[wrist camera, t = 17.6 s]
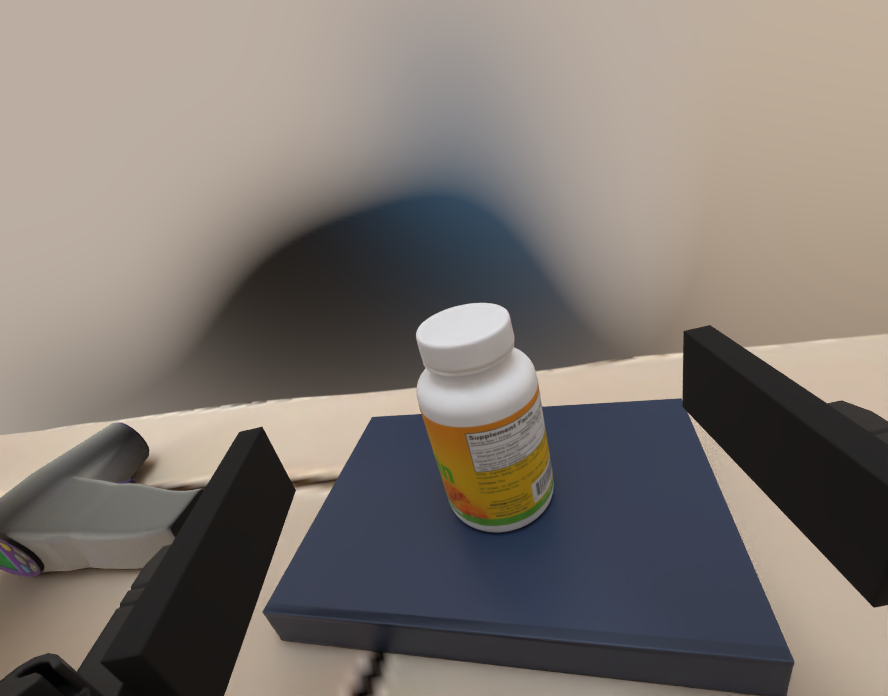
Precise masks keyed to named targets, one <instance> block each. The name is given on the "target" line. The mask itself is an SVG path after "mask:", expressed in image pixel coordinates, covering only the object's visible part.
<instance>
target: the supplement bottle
mask: <svg viewBox="0 0 888 696" xmlns="http://www.w3.org/2000/svg"><path fill="white" fill-rule="evenodd" d="M416 339H417V343H418V347H419V350H420V353H421V357H422V360H423V364H424V366H425V367H426V369H425V370H424V372H423V373H422V375H421V376H420V379H419V381H418V385H417V399H418V403H419V407H420V411H421V414H422V417H423V420H424V423H425V426H426V430H427V433H428V436H429V439H430V442H431V446H432V449H433V453H434V456H435V458H436V461H437V465H438V468H439V471H440V474H441V477H442V481H443V484H444V487H445V490H446V493H447V496H448V499H449V502H450V505H451V507H452V509H453V511H454V512H455V514H456V515H457V516H458V517H459V518H460V519H461V520H462V521H463V522H464V523H466V524H467V525H469V526H471V527H473V528H475V529H478V530H482V531H487V532H507V531H511V530H515V529H518V528H521V527H523V526H525V525H527V524H529V523H531V522H532V521H534V520H535V519H537V518H538V517H539V516H540V515H541V514H542V513H543V512H544V510H545V509H546V508H547V506H548V505H549V503H550V501H551V498H552V494H553V488H554V483H553V473H552V466H551V460H550V454H549V447H548V442H547V436H546V429H545V423H544V417H543V411H542V405H541V399H540V392H539V385H538V379H537V376H536V371H535V369H534V366H533V364H532V362H531V360H530V359H529V358H528V357H527V356H526V355H525V354H524V353H523V352H521V351H520V350H518V349H516V348H514V333H513V330H512V325H511V320H510V316H509V313H508V312H507V310H506V309H505V308H503V307H501V306H499V305H496V304H490V303H473V304H466V305H461V306H456V307H453V308H450V309H446V310H444V311H441V312H439V313H437V314H435V315H433V316H431V317H430V318H428V319H427V320H426V321H424V322H423V323H422V324H421V325H420V327H419V328H418V330H417V333H416Z"/></svg>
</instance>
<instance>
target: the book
mask: <svg viewBox="0 0 888 696" xmlns="http://www.w3.org/2000/svg"><path fill="white" fill-rule="evenodd" d="M682 406H683V401H682V399H664V400H648V401H631V402H615V403H598V404H581V405H565V406H548V407H542V411H543V417H544V423H545V429H546V436H547V442H548V447H549V454H550V460H551V466H552V473H553V483H554V488H553V494H552V498H551V501H550V503H549V505H548V506H547V508H546V509H545V510H544V512H543V513H542V514H541V515H540V516H539V517H538V518H537V519H535V520H534V521H532V522H531V523H529V524H527V525H525V526H523V527H521V528H518V529H515V530H511V531H507V532H487V531H482V530H478V529H475V528H473V527H471V526H469V525H467V524H466V523H464V522H463V521H462V520H461V519H460V518H459V517H458V516H457V515H456V514H455V512H454V511H453V509H452V507H451V505H450V502H449V499H448V496H447V493H446V490H445V487H444V484H443V481H442V477H441V474H440V471H439V468H438V465H437V461H436V458H435V456H434V453H433V449H432V446H431V442H430V439H429V436H428V433H427V430H426V426H425V423H424V420H423V417H422V414H415V415H399V416H382V417H372V418H371V420H370V422H369V424H368V425H367V427H366V429H365V431H364V433H363V434H362V436H361V438H360V440H359V441H358V443H357V445H356V447H355V449H354V450H353V452H352V454H351V456H350V457H349V459H348V461H347V463H346V465H345V466H344V468H343V470H342V472H341V473H340V475H339V477H338V479H337V481H336V482H335V484H334V486H333V488H332V489H331V491H330V493H329V495H328V497H327V498H326V500H325V502H324V504H323V505H322V507H321V509H320V511H319V513H318V514H317V516H316V518H315V520H314V521H313V523H312V525H311V527H310V529H309V530H308V532H307V534H306V536H305V537H304V539H303V541H302V543H301V545H300V546H299V548H298V550H297V552H296V553H295V555H294V557H293V559H292V561H291V562H290V564H289V566H288V568H287V569H286V571H285V573H284V575H283V577H282V578H281V580H280V582H279V584H278V585H277V587H276V589H275V591H274V593H273V594H272V596H271V598H270V600H269V601H268V603H267V605H266V607H265V609H264V610H263V614H264V615H265V616H266V618H267V619H268V621H269V622H270V624H271V625H272V626H273V628H274V629H275V631H276V632H277V634H278V635H279V637H280V638H281V640H285V641H294V642H302V643H311V644H320V645H328V646H337V647H346V648H355V649H363V650H372V651H381V652H389V653H398V654H407V655H416V656H424V657H433V658H442V659H450V660H459V661H468V662H477V663H485V664H494V665H503V666H511V667H520V668H529V669H538V670H546V671H555V672H564V673H572V674H581V675H590V676H599V677H607V678H616V679H625V680H633V681H642V682H651V683H660V684H668V685H677V686H686V687H695V688H703V689H712V690H721V691H729V692H738V693H747V694H756V695H764V696H787V690H788V686H789V681H790V677H791V673H792V669H793V666H794V660H793V657H792V655H791V653H790V651H789V648H788V646H787V644H786V641H785V639H784V637H783V634H782V632H781V630H780V627H779V625H778V623H777V620H776V618H775V616H774V613H773V611H772V609H771V606H770V604H769V602H768V599H767V597H766V595H765V592H764V590H763V588H762V585H761V583H760V581H759V578H758V576H757V574H756V571H755V569H754V567H753V564H752V562H751V560H750V557H749V555H748V553H747V550H746V548H745V546H744V543H743V541H742V539H741V536H740V534H739V532H738V529H737V527H736V525H735V522H734V520H733V518H732V515H731V513H730V511H729V508H728V506H727V504H726V501H725V499H724V497H723V494H722V492H721V490H720V487H719V485H718V483H717V480H716V478H715V476H714V473H713V471H712V469H711V466H710V464H709V462H708V459H707V457H706V455H705V452H704V450H703V448H702V445H701V443H700V441H699V438H698V436H697V434H696V431H695V429H694V427H693V424H692V422H691V420H690V417H689V415H688V413H687V411H686V410H685V409H684V408H683V407H682Z"/></svg>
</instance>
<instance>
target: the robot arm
mask: <svg viewBox="0 0 888 696" xmlns="http://www.w3.org/2000/svg"><path fill="white" fill-rule="evenodd" d="M682 407H683V408H684V409H685V410H686V411H687V412H688V413H689V414H690V415H691V416H692V417H693V418H694V419H695V420H696V421H697V422H698V423H699V424H700V426H701V427H702V428H703V429H704V430H705V431H706V432H707V433H708V434H709V435H710V436H711V437H712V438H713V439H714V440H715V441H716V442H717V443H718V444H719V446H720V447H721V448H722V449H723V450H724V451H725V452H726V453H727V454H728V455H729V456H730V457H731V458H732V459H733V460H734V461H735V462H736V463H737V464H738V465H739V467H740V468H741V469H742V470H743V471H744V472H745V473H746V474H747V475H748V476H749V477H750V478H751V479H752V480H753V481H754V482H755V483H756V484H757V485H758V486H759V488H760V489H761V490H762V491H763V492H764V493H765V494H766V495H767V496H768V497H769V498H770V499H771V500H772V501H773V502H774V503H775V504H776V505H777V506H778V508H779V509H780V510H781V511H782V512H783V513H784V514H785V515H786V516H787V517H788V518H789V519H790V520H791V521H792V522H793V523H794V524H795V525H796V526H797V527H798V529H799V530H800V531H801V532H802V533H803V534H804V535H805V536H806V537H807V538H808V539H809V540H810V541H811V542H812V543H813V544H814V545H815V546H816V547H817V548H818V550H819V551H820V552H821V553H822V554H823V555H824V556H825V557H826V558H827V559H828V560H829V561H830V562H831V563H832V564H833V565H834V566H835V567H836V568H837V570H838V571H839V572H840V573H841V574H842V575H843V576H844V577H845V578H846V579H847V580H848V581H849V582H850V583H851V584H852V585H853V586H854V587H855V588H856V589H857V591H858V592H859V593H860V594H861V595H862V596H863V597H864V598H865V599H866V600H867V601H868V602H869V603H870V604H871V605H872V606H873V607H879V606H885V605H888V421H886V420H885V419H883V418H881V417H880V416H878V415H877V414H875V413H873V412H872V411H869V410H866V409H864V408H861V407H858V406H855V405H853V404H850V403H847V402H845V401H842V400H841V401H837V402H832V403H825V402H824V401H822V400H821V399H819V398H818V397H817V396H815V395H814V394H812V393H811V392H809V391H808V390H806V389H805V388H803V387H802V386H800V385H799V384H797V383H796V382H794V381H793V380H791V379H790V378H788V377H787V376H785V375H784V374H782V373H781V372H779V371H778V370H776V369H775V368H773V367H772V366H770V365H769V364H767V363H766V362H764V361H763V360H761V359H760V358H758V357H757V356H755V355H754V354H752V353H751V352H749V351H748V350H746V349H745V348H743V347H742V346H740V345H739V344H737V343H736V342H734V341H733V340H731V339H730V338H728V337H727V336H725V335H724V334H722V333H721V332H719V331H718V330H716V329H715V328H713V327H712V326H710V325H709V326H705V327H700V328H696V329H691V330H687V331H684V345H683V406H682ZM295 491H296V490H295V488H294V486H293V484H292V482H291V480H290V478H289V477H288V475H287V473H286V471H285V469H284V467H283V465H282V463H281V461H280V459H279V458H278V456H277V454H276V452H275V450H274V448H273V446H272V444H271V442H270V440H269V439H268V437H267V435H266V433H265V431H264V429H263V427H259V428H255V429H251V430H246V431H242V432H239V433H238V435H237V437H236V438H235V440H234V442H233V443H232V445H231V447H230V448H229V450H228V451H227V453H226V455H225V456H224V458H223V460H222V461H221V463H220V465H219V466H218V468H217V470H216V471H215V473H214V475H213V476H212V478H211V480H210V481H209V483H208V485H207V486H206V488H205V489H204V491H203V493H202V494H201V496H200V498H199V499H198V501H197V503H196V504H195V506H194V508H193V509H192V511H191V513H190V514H189V516H188V518H187V519H186V521H185V523H184V524H183V526H182V527H181V529H180V531H179V532H178V534H177V536H176V537H175V539H174V541H173V542H172V544H171V545H166V546H163V547H162V548H161V549H160V550H159V551H158V552H157V553H156V554H155V555H154V556H153V557H152V558H151V559H150V560H149V561H148V562H147V563H146V565H145V566H144V567H143V569H142V570H141V572H140V573H139V575H138V576H137V578H136V580H135V581H134V583H133V584H132V586H131V590H130V591H128V592H127V594H126V595H125V597H124V598H123V600H122V602H121V603H120V608H118V609H116V611H115V613H114V614H113V616H112V617H111V619H110V620H109V622H108V624H107V625H106V627H105V628H104V630H103V631H102V633H101V634H100V636H99V638H98V639H97V641H96V642H95V644H94V645H93V647H92V649H91V650H90V652H89V653H88V655H87V656H86V658H85V660H84V661H83V663H82V664H81V666H80V667H79V669H78V671H77V672H76V671H75V670H74V669H73V668H72V667H71V666H70V665H68V664H67V663H66V662H65V661H64V660H63V659H62V658H61V657H60V656H58V655H55V654H50V653H48V654H44V655H41V656H38V657H34V658H33V659H31V660H29V661H27V662H26V663H24V664H22V665H21V666H19V667H17V668H16V669H15V670H13V671H12V672H11V673H10V674H8V675H7V676H6V677H5V678H3V679H2V680H1V681H0V696H224V694H225V692H226V689H227V686H228V683H229V680H230V677H231V674H232V672H233V669H234V666H235V663H236V660H237V657H238V654H239V652H240V649H241V646H242V643H243V640H244V637H245V634H246V631H247V629H248V626H249V623H250V620H251V617H252V614H253V611H254V609H255V606H256V603H257V600H258V597H259V594H260V591H261V589H262V586H263V583H264V580H265V577H266V574H267V571H268V568H269V566H270V563H271V560H272V557H273V554H274V551H275V548H276V546H277V543H278V540H279V537H280V534H281V531H282V528H283V526H284V523H285V520H286V517H287V514H288V511H289V508H290V505H291V503H292V500H293V497H294V494H295Z"/></svg>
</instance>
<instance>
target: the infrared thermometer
mask: <svg viewBox="0 0 888 696" xmlns="http://www.w3.org/2000/svg"><path fill="white" fill-rule="evenodd" d="M148 456H149V447H148V445H147V443H146V442H145V440H144V439H143V438H142V436H141V435H140V434H139V433H138V432H136V431H135V430H134V429H133V428H131V427H130V426H128V425H126V424H123V423H112V424H111V425H109V426H107V427H106V428H104V429H103V430H101V431H99V432H98V433H96V434H95V435H93V436H91V437H90V438H88V439H87V440H85V441H83V442H82V443H80V444H79V445H77V446H75V447H74V448H72V449H71V450H69V451H67V452H66V453H64V454H63V455H61V456H60V457H58V458H56V459H55V460H53V461H52V462H50V463H48V464H47V465H45V466H44V467H42V468H40V469H39V470H37V471H36V472H34V473H32V474H31V475H30V476H28V477H27V478H26V479H24V480H23V481H22V482H20V483H19V484H18V485H17V486H15V487H14V488H13V489H11V490H10V491H9V492H7V493H6V494H5V495H4V496H2V497H1V498H0V569H1V570H3V571H6V572H8V573H11V574H15V575H19V576H23V577H35V576H38V575H39V574H40V573H43V572H50V571H71V570H77V569H82V568H88V567H94V568H105V569H138V568H143V567H144V566H145V565H146V563H147V562H148V561H149V560H150V559H151V558H152V557H153V556H154V555H155V554H156V553H157V552H158V551H159V550H160V549H161V548H162V547H163V546H166V545H171V544H172V542H173V541H174V539H175V537H176V536H177V534H178V532H179V531H180V529H181V527H182V526H183V524H184V523H185V521H186V519H187V518H188V516H189V514H190V513H191V511H192V509H193V508H194V506H195V504H196V503H197V501H198V499H199V498H200V496H201V494H202V493H203V491H204V490H203V489H196V490H190V491H170V490H165V489H160V488H156V487H151V486H147V485H143V484H136V482H135V481H134V480H133V479H131V477H132V476H133V475H134V474H135V472H136V471H137V470H138V469H139V467H140V466H141V465H142V464H143V462H144V461H145V460H146V459H147V458H148Z"/></svg>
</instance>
